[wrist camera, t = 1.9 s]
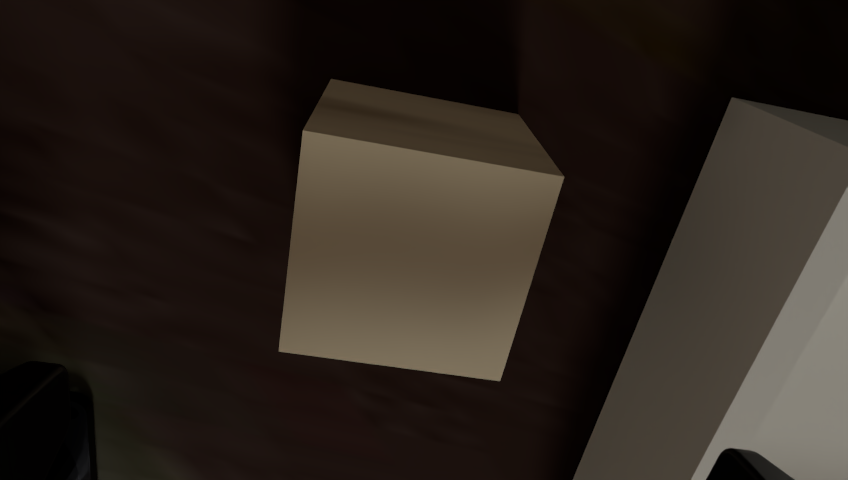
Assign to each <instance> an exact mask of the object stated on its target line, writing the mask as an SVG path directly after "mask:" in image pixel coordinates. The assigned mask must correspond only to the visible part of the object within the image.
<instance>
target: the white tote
mask: <svg viewBox="0 0 848 480" xmlns="http://www.w3.org/2000/svg"><path fill="white" fill-rule="evenodd" d="M727 448H736V449H744V450H751V451H755V452H757V453H759V454H760V455H762V456H763V457H764V458H766V459H767V460H768V461H770V462H771V463H773V464H774V465H775V466H777V467H778V468H779V469H781V470H782V471H784V472H785V473H786V474H788V475H789V476H790V477H792V478H793V479H795V480H848V120H843V119H838V118H833V117H828V116H823V115H818V114H813V113H808V112H803V111H798V110H793V109H788V108H783V107H778V106H773V105H768V104H763V103H758V102H753V101H748V100H743V99H738V98H733V97H732V98H731V100H730V103H729V105H728V108H727V110H726V112H725V115H724V117H723V120H722V122H721V124H720V127H719V129H718V132H717V134H716V136H715V139H714V141H713V144H712V146H711V148H710V151H709V153H708V156H707V158H706V160H705V163H704V165H703V168H702V170H701V172H700V175H699V177H698V180H697V182H696V184H695V187H694V189H693V192H692V194H691V196H690V199H689V201H688V204H687V206H686V208H685V211H684V213H683V216H682V218H681V221H680V223H679V225H678V228H677V230H676V233H675V235H674V237H673V240H672V242H671V245H670V247H669V249H668V252H667V254H666V257H665V259H664V261H663V264H662V266H661V269H660V271H659V273H658V276H657V278H656V281H655V283H654V285H653V288H652V290H651V293H650V295H649V297H648V300H647V302H646V305H645V307H644V309H643V312H642V314H641V317H640V319H639V321H638V324H637V326H636V329H635V331H634V333H633V336H632V338H631V341H630V343H629V345H628V348H627V350H626V353H625V355H624V357H623V360H622V362H621V365H620V367H619V370H618V372H617V374H616V377H615V379H614V382H613V384H612V386H611V389H610V391H609V394H608V396H607V398H606V401H605V403H604V406H603V408H602V410H601V413H600V415H599V418H598V420H597V422H596V425H595V427H594V430H593V432H592V434H591V437H590V439H589V442H588V444H587V446H586V449H585V451H584V454H583V456H582V458H581V461H580V463H579V466H578V468H577V470H576V473H575V475H574V478H573V480H706V478H707V477H708V475H709V473H710V471H711V469H712V467H713V466H714V464H715V462H716V460H717V458H718V456H719V455H720V453H721V452H722V451H724V450H725V449H727Z"/></svg>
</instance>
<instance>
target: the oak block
mask: <svg viewBox="0 0 848 480" xmlns="http://www.w3.org/2000/svg"><path fill="white" fill-rule="evenodd" d="M563 179H564V176H563V174H562V173H561V172H560V170H559V169H558V168H557V166H556V165H555V164H554V162H553V161H552V159H551V158H550V157H549V155H548V154H547V153H546V151H545V150H544V149H543V147H542V146H541V145H540V143H539V142H538V140H537V139H536V138H535V136H534V135H533V134H532V132H531V131H530V130H529V128H528V127H527V125H526V124H525V123H524V121H523V120H522V119H521V117H520V116H519V115H518V114H515V113H509V112H504V111H499V110H494V109H488V108H483V107H478V106H472V105H467V104H462V103H457V102H451V101H446V100H441V99H435V98H430V97H425V96H420V95H414V94H409V93H404V92H398V91H393V90H388V89H383V88H377V87H372V86H367V85H361V84H356V83H351V82H346V81H340V80H335V79H331V80H330V82H329V84H328V85H327V87H326V89H325V91H324V93H323V95H322V96H321V98H320V100H319V102H318V104H317V105H316V107H315V109H314V111H313V113H312V115H311V116H310V118H309V120H308V122H307V124H306V126H305V127H304V129H303V134H302V143H301V152H300V161H299V170H298V179H297V188H296V198H295V207H294V216H293V225H292V234H291V243H290V252H289V262H288V271H287V280H286V289H285V298H284V307H283V316H282V326H281V335H280V344H279V352H287V353H294V354H302V355H309V356H316V357H324V358H331V359H339V360H346V361H354V362H361V363H369V364H376V365H384V366H391V367H398V368H406V369H413V370H421V371H428V372H436V373H443V374H451V375H458V376H466V377H473V378H480V379H488V380H495V381H500V380H501V377H502V374H503V370H504V367H505V364H506V361H507V358H508V354H509V351H510V348H511V345H512V342H513V339H514V335H515V332H516V329H517V326H518V323H519V319H520V316H521V313H522V310H523V307H524V303H525V300H526V297H527V294H528V291H529V288H530V284H531V281H532V278H533V275H534V272H535V268H536V265H537V262H538V259H539V256H540V252H541V249H542V246H543V243H544V240H545V237H546V233H547V230H548V227H549V224H550V221H551V217H552V214H553V211H554V208H555V205H556V201H557V198H558V195H559V192H560V189H561V186H562V182H563Z"/></svg>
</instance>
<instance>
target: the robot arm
mask: <svg viewBox="0 0 848 480" xmlns="http://www.w3.org/2000/svg"><path fill="white" fill-rule="evenodd" d="M71 407H73V408H75V409H76V410H74V409H72V408H71ZM0 480H97V472H96V455H95V438H94V420H93V405H92V402H91V401H90V399H89V398H88V397H86V396H85V395H83V394H81V393H77V392H70V391H69V379H68V372H67V370H66V368H65V367H64V366H62V365H60V364H54V363H46V362H38V361H30V362H26V363H24V364H21V365H19V366H17V367H15V368H13V369H11V370H9V371H7V372H5V373H3V374H1V375H0ZM706 480H795V479H793V478H792V477H790V476H789V475H788V474H786V473H785V472H784V471H782V470H781V469H779V468H778V467H777V466H775V465H774V464H773V463H771V462H770V461H768V460H767V459H766V458H764V457H763V456H762V455H760V454H759V453H757V452H755V451H751V450H744V449H736V448H727V449H725V450H724V451H722V452H721V453H720V455H719V456H718V458H717V460H716V462H715V464H714V466H713V467H712V469H711V471H710V473H709V475H708V477H707V478H706Z"/></svg>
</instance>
